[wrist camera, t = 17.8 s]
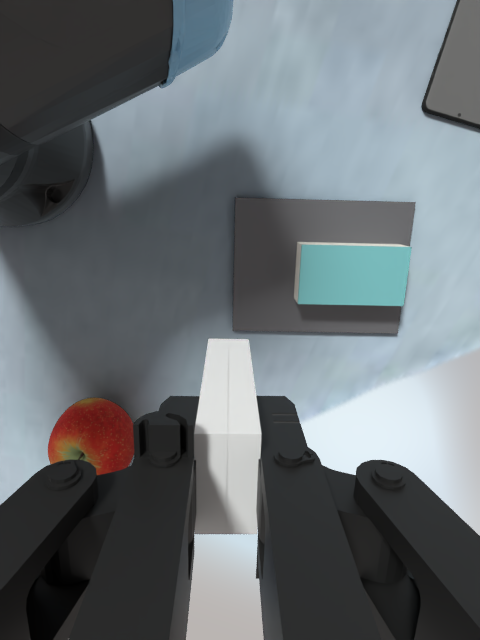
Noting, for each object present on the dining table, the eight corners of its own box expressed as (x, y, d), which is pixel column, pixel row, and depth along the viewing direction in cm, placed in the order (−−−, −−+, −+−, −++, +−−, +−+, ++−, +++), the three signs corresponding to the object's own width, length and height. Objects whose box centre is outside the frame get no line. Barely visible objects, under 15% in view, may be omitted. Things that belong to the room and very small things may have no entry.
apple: (123, 462, 47) (96, 529, 37) (57, 429, 46) (11, 490, 36) (157, 406, 45) (138, 462, 36) (89, 371, 44) (50, 419, 34)
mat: (232, 328, 43) (232, 330, 42) (235, 197, 39) (235, 197, 39) (395, 331, 43) (397, 333, 43) (412, 202, 40) (415, 202, 39)
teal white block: (298, 304, 39) (403, 306, 39) (301, 244, 37) (411, 247, 38) (293, 297, 42) (392, 299, 42) (297, 241, 40) (399, 244, 40)
